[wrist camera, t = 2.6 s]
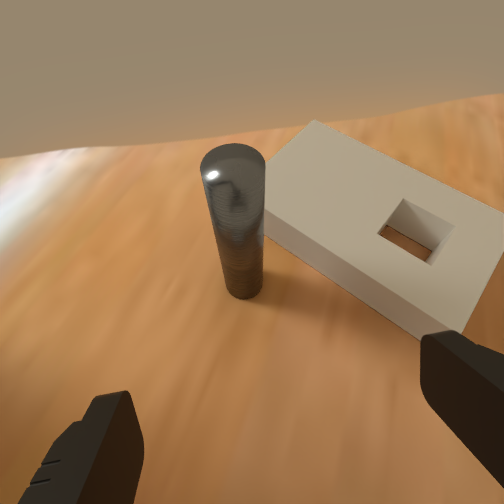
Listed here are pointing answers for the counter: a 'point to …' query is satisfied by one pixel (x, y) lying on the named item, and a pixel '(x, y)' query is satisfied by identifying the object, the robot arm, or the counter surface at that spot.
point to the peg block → (374, 221)
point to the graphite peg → (237, 214)
